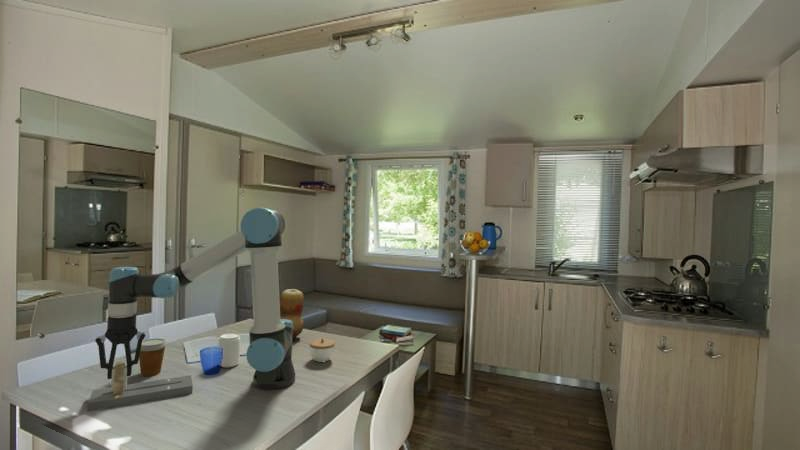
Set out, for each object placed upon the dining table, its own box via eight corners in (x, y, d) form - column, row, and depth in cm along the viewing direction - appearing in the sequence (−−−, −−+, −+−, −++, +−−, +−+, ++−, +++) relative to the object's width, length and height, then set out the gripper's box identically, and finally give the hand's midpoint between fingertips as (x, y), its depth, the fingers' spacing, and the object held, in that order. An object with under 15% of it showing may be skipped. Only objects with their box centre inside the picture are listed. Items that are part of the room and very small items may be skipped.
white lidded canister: (213, 366, 153) (214, 336, 153) (229, 359, 161) (230, 331, 161) (228, 369, 150) (229, 339, 150) (243, 363, 158) (244, 334, 158)
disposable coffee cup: (150, 379, 138) (152, 347, 138) (129, 376, 140) (130, 344, 140) (171, 370, 147) (172, 339, 147) (150, 367, 149) (152, 336, 149)
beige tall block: (124, 388, 125) (125, 360, 125) (122, 393, 121) (124, 365, 121) (115, 389, 124) (116, 362, 124) (113, 394, 120) (114, 366, 120)
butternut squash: (288, 344, 184) (290, 293, 184) (269, 339, 191) (271, 289, 190) (308, 337, 196) (310, 289, 196) (290, 333, 202) (292, 286, 202)
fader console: (190, 381, 138) (191, 374, 138) (192, 393, 129) (192, 385, 129) (92, 397, 123) (93, 389, 123) (87, 411, 114) (87, 402, 114)
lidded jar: (315, 366, 158) (316, 344, 158) (304, 358, 166) (305, 337, 166) (338, 361, 164) (339, 340, 164) (326, 354, 173) (327, 333, 173)
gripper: (151, 310, 130) (148, 378, 130) (93, 314, 121) (90, 387, 121) (150, 315, 123) (147, 387, 123) (89, 320, 115) (86, 396, 115)
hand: (119, 387), depth 122 cm, fingers closed on beige tall block, 2 cm apart
